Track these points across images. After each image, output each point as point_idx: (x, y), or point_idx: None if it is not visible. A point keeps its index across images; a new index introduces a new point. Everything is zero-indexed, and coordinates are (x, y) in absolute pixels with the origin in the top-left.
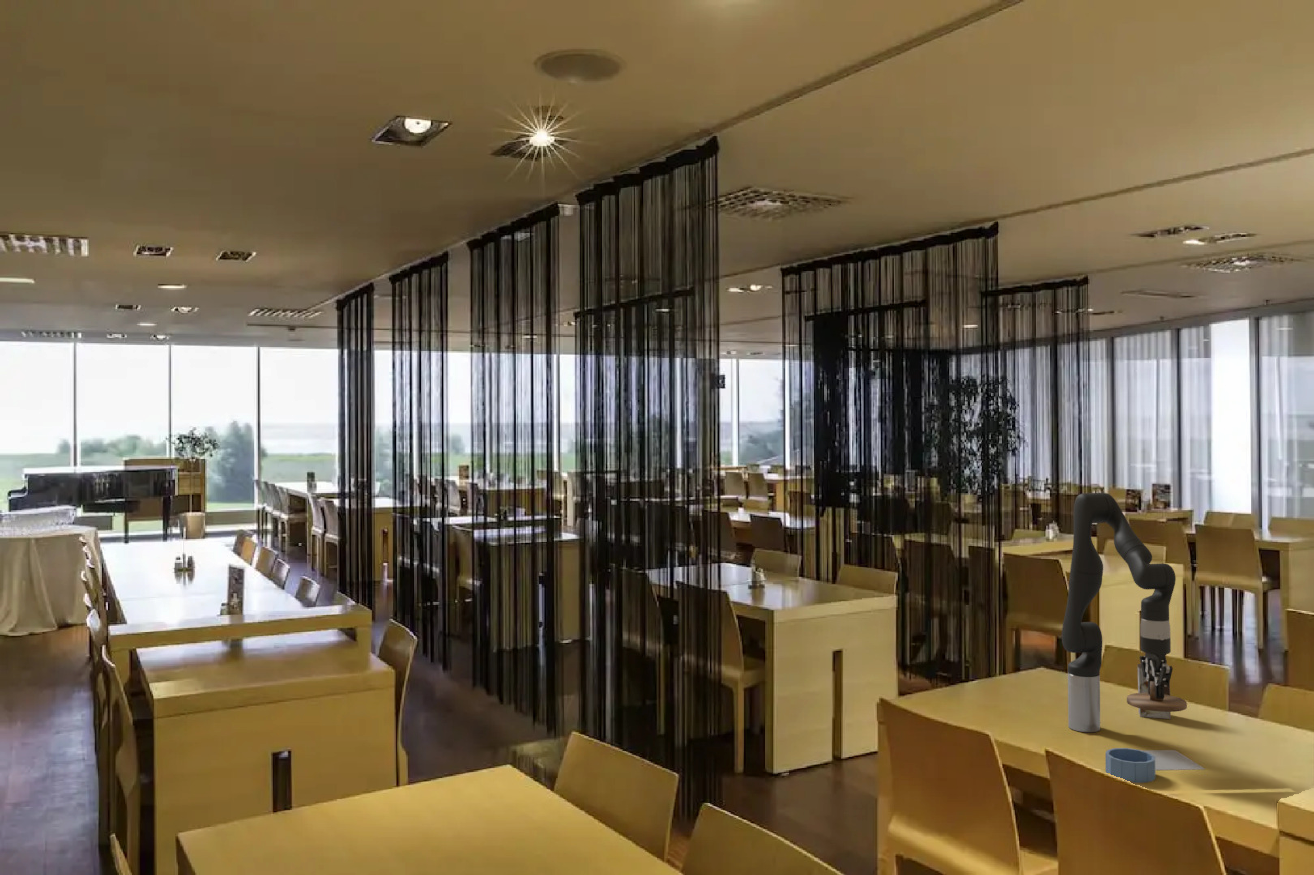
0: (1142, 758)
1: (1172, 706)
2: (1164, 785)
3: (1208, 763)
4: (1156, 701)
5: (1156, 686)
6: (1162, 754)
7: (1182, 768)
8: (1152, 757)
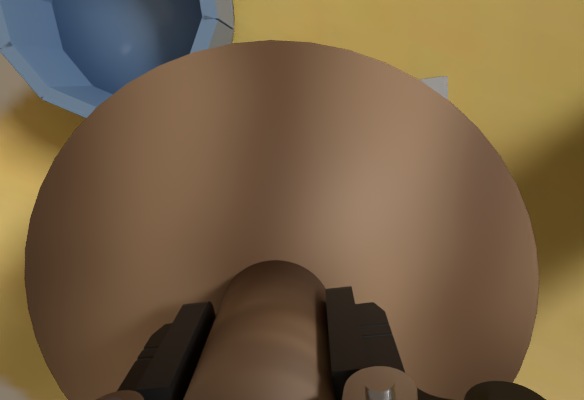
0: None
1: (70, 360)
2: (74, 122)
3: None
4: (222, 292)
5: (138, 386)
6: None
7: None
8: (85, 105)
